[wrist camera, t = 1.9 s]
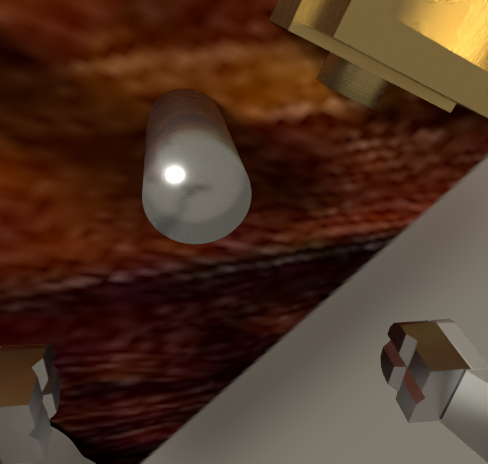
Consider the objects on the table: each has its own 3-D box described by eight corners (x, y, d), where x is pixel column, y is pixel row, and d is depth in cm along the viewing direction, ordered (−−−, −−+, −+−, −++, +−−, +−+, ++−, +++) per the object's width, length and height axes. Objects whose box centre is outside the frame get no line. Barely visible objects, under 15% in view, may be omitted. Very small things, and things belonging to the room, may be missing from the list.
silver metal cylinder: (206, 172, 27) (225, 254, 19) (136, 148, 25) (127, 227, 18) (235, 106, 25) (269, 168, 17) (161, 75, 23) (164, 129, 16)
